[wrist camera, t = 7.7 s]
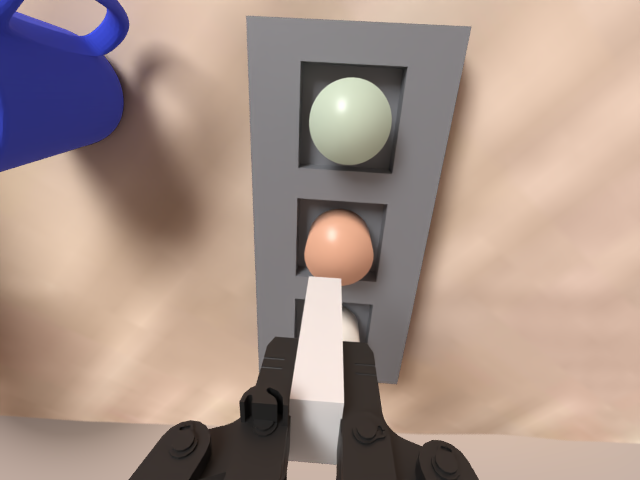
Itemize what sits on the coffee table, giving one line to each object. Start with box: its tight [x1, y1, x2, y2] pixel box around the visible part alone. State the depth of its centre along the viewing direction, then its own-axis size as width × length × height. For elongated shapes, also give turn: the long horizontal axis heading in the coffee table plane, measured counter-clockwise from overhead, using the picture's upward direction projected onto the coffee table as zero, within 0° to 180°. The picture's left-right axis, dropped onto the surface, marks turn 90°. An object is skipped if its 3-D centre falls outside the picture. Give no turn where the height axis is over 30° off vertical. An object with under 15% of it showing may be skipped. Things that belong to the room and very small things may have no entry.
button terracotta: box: [304, 209, 374, 286], centre depth 22 cm, size 4×4×3 cm
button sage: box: [309, 77, 392, 165], centre depth 18 cm, size 4×4×3 cm
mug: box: [0, 0, 129, 172], centre depth 17 cm, size 8×12×10 cm
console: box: [246, 16, 471, 384], centre depth 24 cm, size 12×26×3 cm, turn 177°
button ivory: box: [342, 306, 360, 342], centre depth 25 cm, size 4×4×3 cm
